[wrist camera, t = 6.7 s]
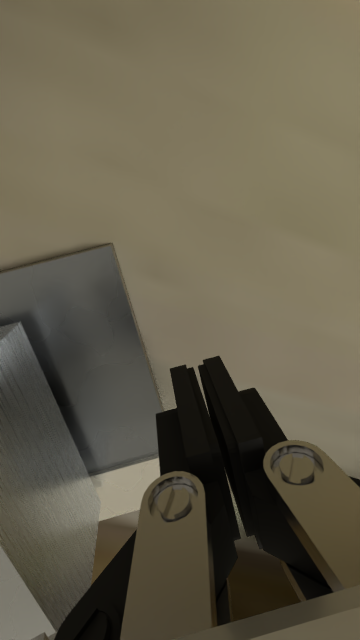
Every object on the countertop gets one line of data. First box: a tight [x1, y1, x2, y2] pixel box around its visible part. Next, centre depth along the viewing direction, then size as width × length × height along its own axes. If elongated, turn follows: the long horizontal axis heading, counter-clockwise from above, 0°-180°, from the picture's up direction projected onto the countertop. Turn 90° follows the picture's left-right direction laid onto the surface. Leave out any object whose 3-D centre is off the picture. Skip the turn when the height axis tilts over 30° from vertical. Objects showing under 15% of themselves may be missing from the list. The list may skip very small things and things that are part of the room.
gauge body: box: [0, 243, 164, 521], centre depth 11 cm, size 11×9×3 cm
